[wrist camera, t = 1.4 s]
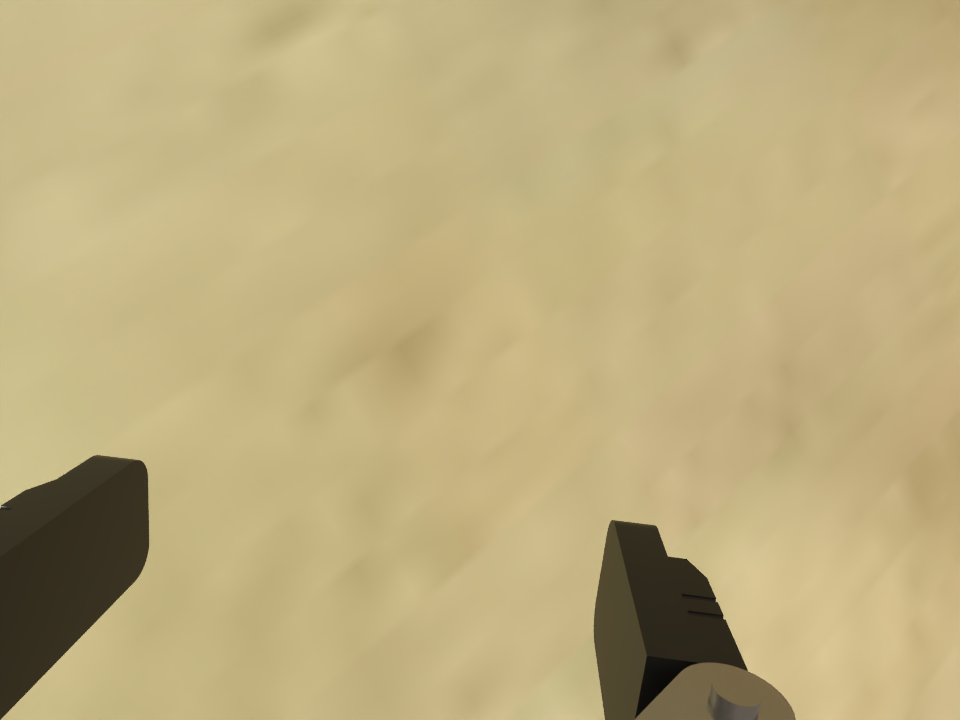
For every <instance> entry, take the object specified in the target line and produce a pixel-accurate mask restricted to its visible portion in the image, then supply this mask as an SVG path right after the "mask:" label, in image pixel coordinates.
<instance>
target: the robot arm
mask: <svg viewBox="0 0 960 720" xmlns="http://www.w3.org/2000/svg"><path fill="white" fill-rule="evenodd" d="M148 549H149V511H148V473H147V469H146V466H145V464H144V463H143V462H142V461H140V460H133V459H125V458H117V457H109V456H100V455H96V456H93V457H91V458H89V459H88V460H86V461H84V462H83V463H81V464H80V465H78V466H77V467H75V468H74V469H72V470H70V471H69V472H67V473H66V474H64V475H63V476H61V477H60V478H58V479H56V480H53V481H51V482H48V483H45V484H42V485H39V486H36V487H34V488H31V489H28V490H25V491H24V492H22V493H20V494H19V495H17V496H16V497H14V498H12V499H11V500H9V501H8V502H6V503H4V504H3V505H1V508H0V720H1V718H2V717H3V716H4V715H5V714H6V713H7V712H8V711H9V710H10V709H11V708H12V707H13V706H14V705H15V704H16V703H17V702H18V701H19V700H20V699H21V698H22V697H23V696H24V695H25V694H26V693H27V692H28V691H29V690H30V689H31V688H32V687H33V686H34V685H35V684H36V683H37V681H38V680H39V679H40V678H41V677H42V676H43V675H44V674H45V673H46V672H47V671H48V670H49V669H50V668H51V667H52V666H53V665H54V664H55V663H56V662H57V661H58V660H59V659H60V658H61V657H62V656H63V655H64V654H65V653H66V652H67V651H68V650H69V649H70V648H71V647H72V646H73V644H74V643H75V642H76V641H77V640H78V639H79V638H80V637H81V636H82V635H83V634H84V633H85V632H86V631H87V630H88V629H89V628H90V627H91V626H92V625H93V624H94V623H95V622H96V621H97V620H98V619H99V618H100V617H101V616H102V615H103V614H104V613H105V612H106V611H107V610H108V608H109V607H110V606H111V605H112V604H113V603H114V602H115V601H116V600H117V599H118V598H119V597H120V596H121V595H122V594H123V593H124V592H125V591H126V590H127V589H128V588H129V587H130V586H131V585H132V584H133V583H134V582H135V581H136V579H137V578H138V577H139V575H140V573H141V572H142V570H143V567H144V565H145V562H146V559H147V555H148ZM594 643H595V650H596V657H597V664H598V672H599V679H600V686H601V693H602V700H603V708H604V715H605V720H796V719H795V714H794V712H793V710H792V707H791V706H790V704H789V703H788V701H787V700H786V699H785V697H784V696H783V695H782V694H781V693H780V692H779V691H778V690H777V689H775V688H774V687H773V686H772V685H771V684H769V683H768V682H766V681H765V680H763V679H762V678H760V677H758V676H756V675H755V674H752V673H750V672H748V670H747V668H746V665H745V663H744V661H743V659H742V656H741V654H740V652H739V649H738V647H737V645H736V643H735V640H734V638H733V636H732V634H731V631H730V629H729V627H728V625H727V622H726V620H724V619H723V613H722V611H721V609H720V606H719V604H718V602H716V597H715V595H714V593H713V591H712V588H711V586H710V584H709V581H708V579H707V578H706V577H705V576H704V575H703V574H702V573H701V572H700V571H699V570H698V569H697V568H696V567H695V566H693V565H692V564H691V563H690V562H689V561H688V560H687V559H682V558H674V557H668V556H667V553H666V550H665V548H664V545H663V542H662V539H661V537H660V534H659V531H658V529H657V527H656V526H655V525H647V524H639V523H631V522H623V521H615V520H612V521H611V522H610V524H609V528H608V532H607V537H606V543H605V549H604V555H603V562H602V568H601V574H600V580H599V586H598V592H597V598H596V605H595V614H594Z"/></svg>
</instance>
